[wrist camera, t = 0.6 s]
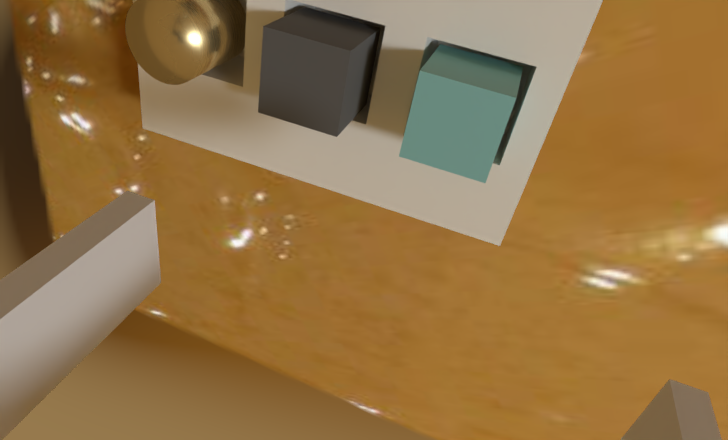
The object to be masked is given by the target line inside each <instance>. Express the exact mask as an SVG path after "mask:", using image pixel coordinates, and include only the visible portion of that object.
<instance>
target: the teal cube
mask: <svg viewBox="0 0 728 440" xmlns="http://www.w3.org/2000/svg"><path fill="white" fill-rule="evenodd" d="M522 70H523V66H519V65H515V64H512V63H508V62H504V61H501V60H497V59H493V58H490V57H486V56H482V55H479V54H475V53H471V52H468V51H464V50H460V49H457V48H453V47H449V46H446V45H442V44H440V45H439V47H438V48H437V49H436V50H435V52H434V53H433V54H432V55H431V57H430V58H429V59H428V61H427V62H426V63H425V64H424V66H423V67H422V68H421V70H420V72H419V76H418V80H417V84H416V88H415V92H414V96H413V100H412V104H411V108H410V113H409V117H408V121H407V125H406V129H405V133H404V137H403V141H402V145H401V149H400V154H399V157H402V158H406V159H409V160H412V161H415V162H418V163H422V164H425V165H428V166H431V167H434V168H438V169H441V170H444V171H447V172H450V173H454V174H457V175H460V176H463V177H466V178H470V179H473V180H476V181H479V182H482V183H486V180H487V177H488V175H489V172H490V169H491V167H492V164H493V161H494V158H495V156H496V153H497V150H498V147H499V145H500V142H501V139H502V136H503V134H504V131H505V128H506V126H507V123H508V120H509V117H510V115H511V112H512V109H513V106H514V104H515V101H516V98H517V94H518V89H519V84H520V80H521V75H522Z"/></svg>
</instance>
